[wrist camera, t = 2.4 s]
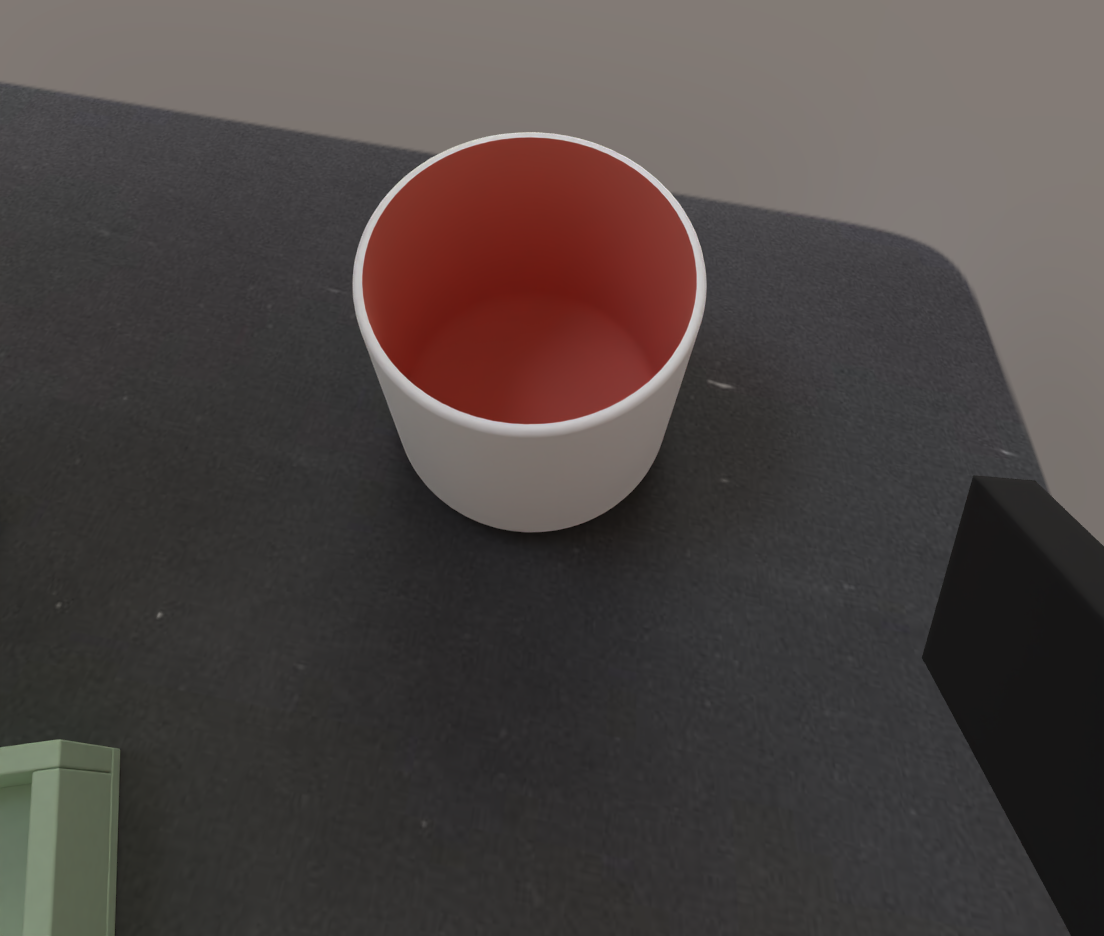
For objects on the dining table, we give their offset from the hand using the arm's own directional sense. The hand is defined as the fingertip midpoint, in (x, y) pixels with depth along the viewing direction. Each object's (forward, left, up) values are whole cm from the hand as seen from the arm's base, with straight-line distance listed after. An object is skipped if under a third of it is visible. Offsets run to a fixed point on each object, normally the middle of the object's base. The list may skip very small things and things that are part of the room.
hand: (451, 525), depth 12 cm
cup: (-11, +2, -21) cm, 23 cm away
